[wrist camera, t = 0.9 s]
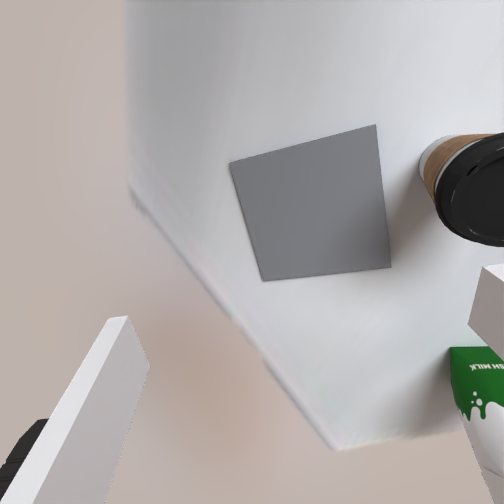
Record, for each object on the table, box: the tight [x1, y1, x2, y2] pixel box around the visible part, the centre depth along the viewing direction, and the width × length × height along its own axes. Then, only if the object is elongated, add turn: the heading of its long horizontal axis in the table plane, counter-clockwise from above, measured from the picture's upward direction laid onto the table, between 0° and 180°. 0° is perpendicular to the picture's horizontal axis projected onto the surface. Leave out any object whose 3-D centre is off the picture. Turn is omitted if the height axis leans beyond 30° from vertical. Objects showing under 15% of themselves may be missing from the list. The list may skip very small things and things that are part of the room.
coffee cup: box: [419, 133, 504, 247], centre depth 27 cm, size 8×8×15 cm
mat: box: [229, 124, 391, 281], centre depth 40 cm, size 18×18×1 cm
